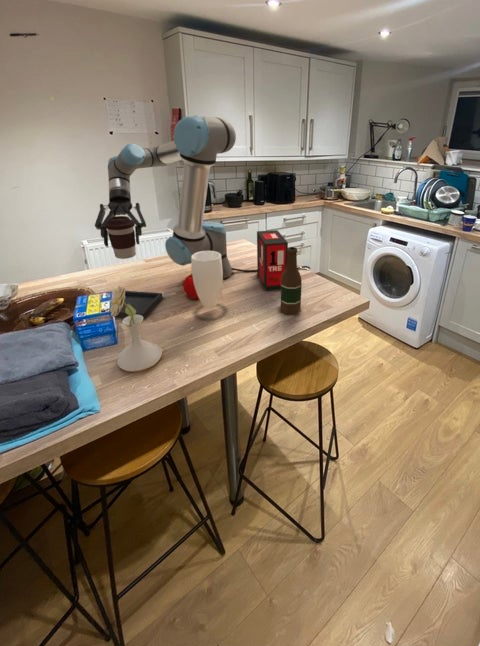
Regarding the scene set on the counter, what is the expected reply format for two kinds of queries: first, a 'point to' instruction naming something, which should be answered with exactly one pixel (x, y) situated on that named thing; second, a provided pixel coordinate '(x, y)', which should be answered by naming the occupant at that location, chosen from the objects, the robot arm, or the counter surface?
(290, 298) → the beer bottle
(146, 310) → the black square tray
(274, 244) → the cleaning product box
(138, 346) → the flower in vase
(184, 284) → the fruit
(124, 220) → the coffee cup
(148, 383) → the counter surface
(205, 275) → the cup
